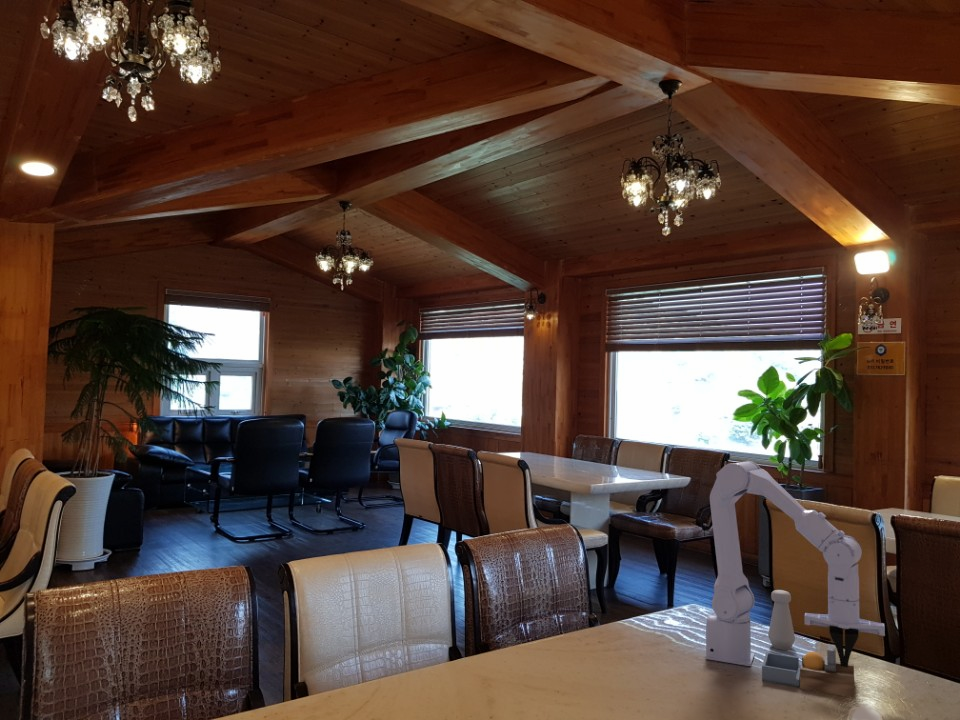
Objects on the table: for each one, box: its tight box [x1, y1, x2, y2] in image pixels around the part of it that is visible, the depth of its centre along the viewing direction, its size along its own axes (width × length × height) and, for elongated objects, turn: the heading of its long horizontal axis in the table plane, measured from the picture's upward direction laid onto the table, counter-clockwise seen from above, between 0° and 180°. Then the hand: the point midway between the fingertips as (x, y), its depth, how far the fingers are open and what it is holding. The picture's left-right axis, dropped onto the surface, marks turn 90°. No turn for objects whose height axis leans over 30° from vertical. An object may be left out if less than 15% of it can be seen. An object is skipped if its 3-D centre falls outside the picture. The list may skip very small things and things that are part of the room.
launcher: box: [799, 656, 856, 699], centre depth 147 cm, size 10×10×4 cm
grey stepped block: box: [824, 643, 837, 673], centre depth 147 cm, size 2×5×5 cm, turn 153°
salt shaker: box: [767, 589, 796, 651], centre depth 169 cm, size 6×6×13 cm
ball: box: [803, 651, 825, 671], centre depth 149 cm, size 4×4×4 cm
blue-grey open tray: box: [761, 652, 802, 688], centre depth 151 cm, size 7×9×3 cm
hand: (844, 665), depth 146 cm, fingers closed
